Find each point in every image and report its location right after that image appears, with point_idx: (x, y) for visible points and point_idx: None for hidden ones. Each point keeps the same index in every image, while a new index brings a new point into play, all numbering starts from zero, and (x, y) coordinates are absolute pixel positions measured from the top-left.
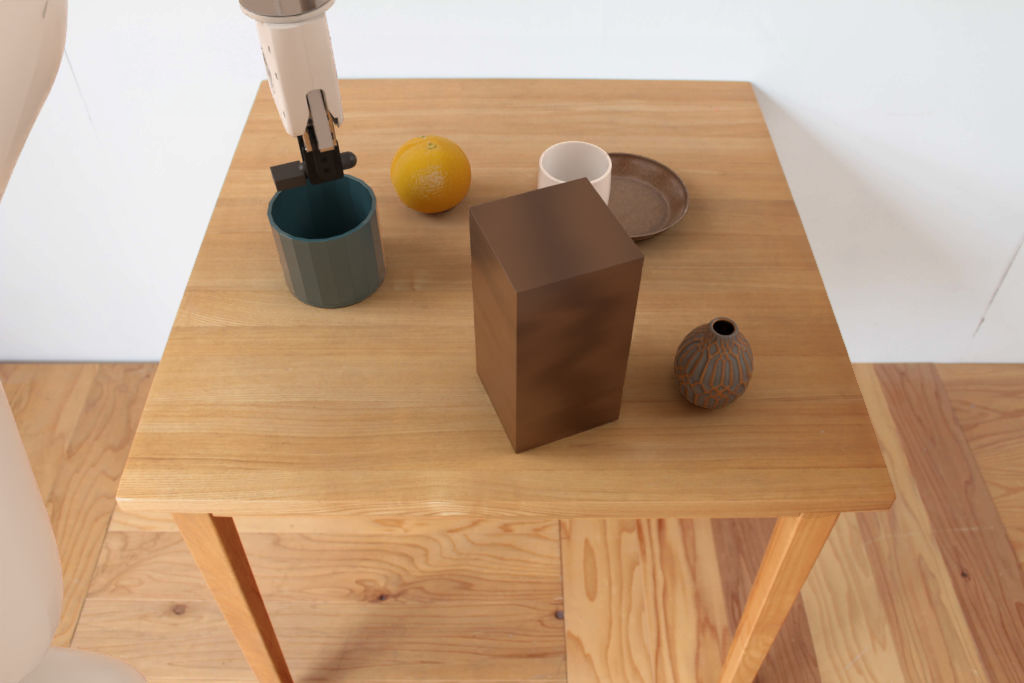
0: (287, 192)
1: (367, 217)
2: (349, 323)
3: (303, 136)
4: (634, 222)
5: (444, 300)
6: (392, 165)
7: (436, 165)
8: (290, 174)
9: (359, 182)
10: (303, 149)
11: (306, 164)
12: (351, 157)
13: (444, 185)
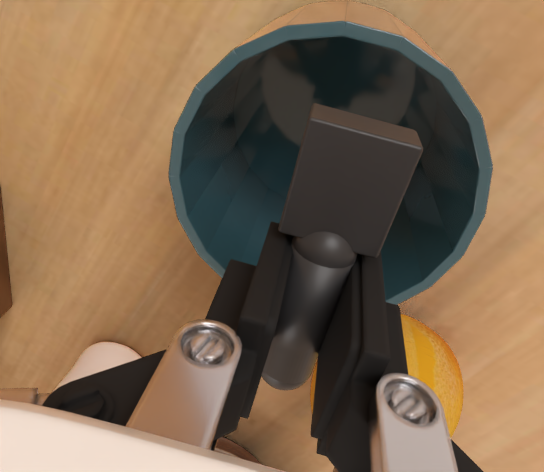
0: (470, 146)
1: (208, 255)
2: (187, 66)
3: (166, 395)
4: None
5: (160, 228)
6: (431, 368)
7: None
8: (314, 191)
9: None
10: (241, 321)
11: (257, 269)
12: (264, 377)
13: (314, 391)
